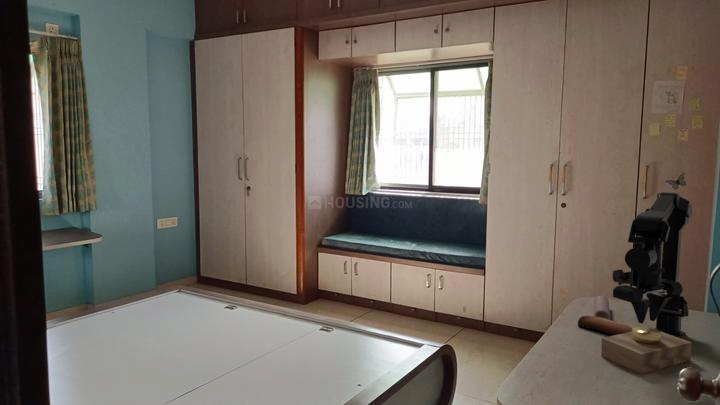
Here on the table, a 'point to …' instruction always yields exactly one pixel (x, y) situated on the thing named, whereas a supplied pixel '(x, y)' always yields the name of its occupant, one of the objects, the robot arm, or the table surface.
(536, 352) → the table surface
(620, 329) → the sunglasses case
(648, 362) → the socket block
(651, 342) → the gold shiny rounded part
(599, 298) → the pale lilac cylinder
